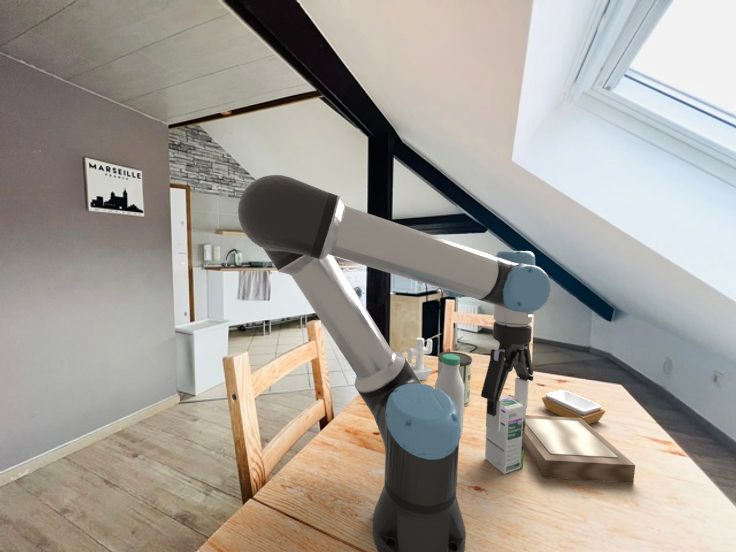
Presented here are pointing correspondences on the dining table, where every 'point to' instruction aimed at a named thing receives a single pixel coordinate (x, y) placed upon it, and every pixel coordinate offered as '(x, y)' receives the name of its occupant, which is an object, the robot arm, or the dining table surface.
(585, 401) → the soap dish
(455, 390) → the milk bottle
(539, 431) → the pedestal
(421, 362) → the figurine
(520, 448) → the syrup box
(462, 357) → the coffee can
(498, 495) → the dining table surface
